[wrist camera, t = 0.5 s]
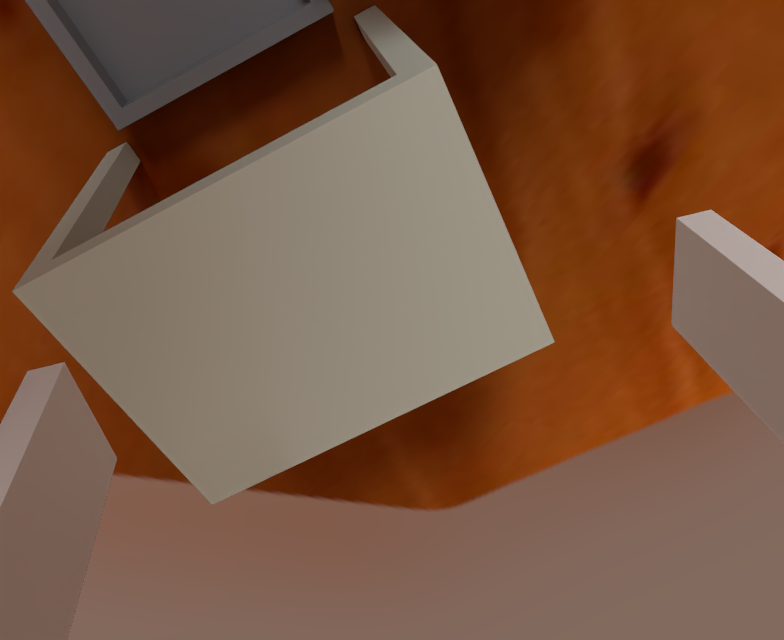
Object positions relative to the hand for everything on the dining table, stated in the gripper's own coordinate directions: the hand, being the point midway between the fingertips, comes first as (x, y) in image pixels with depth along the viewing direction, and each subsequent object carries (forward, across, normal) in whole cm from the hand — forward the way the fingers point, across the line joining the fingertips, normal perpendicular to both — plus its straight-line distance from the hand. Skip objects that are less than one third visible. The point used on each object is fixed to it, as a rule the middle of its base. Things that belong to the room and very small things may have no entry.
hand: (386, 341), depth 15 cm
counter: (+25, -2, -5) cm, 26 cm away
